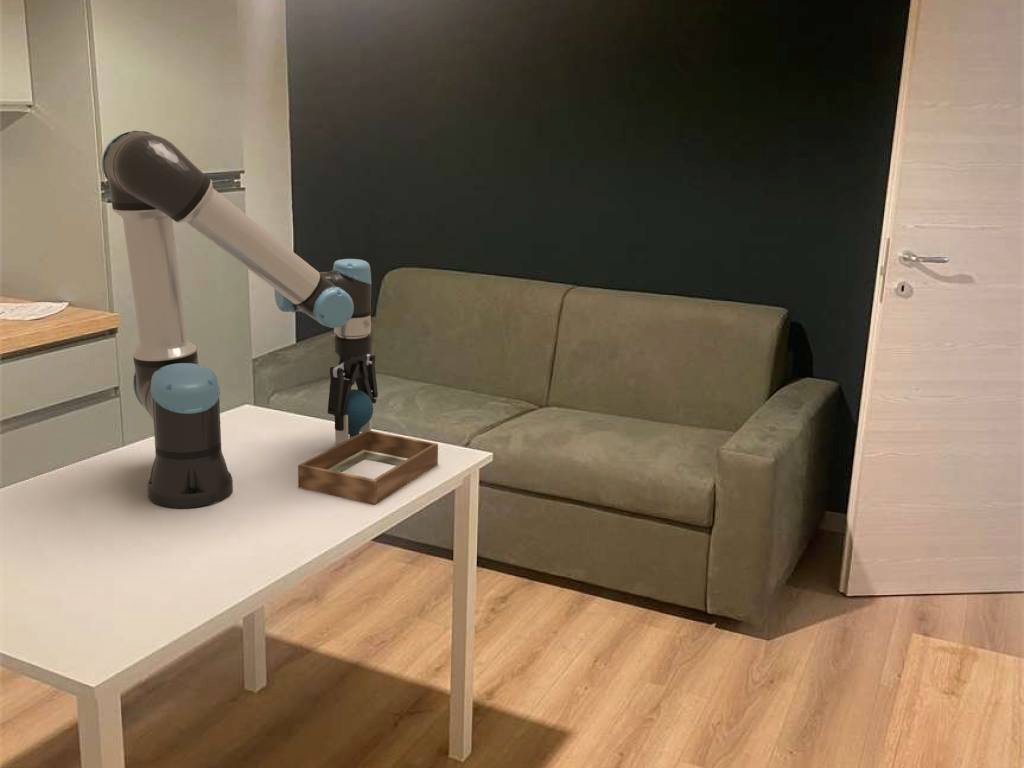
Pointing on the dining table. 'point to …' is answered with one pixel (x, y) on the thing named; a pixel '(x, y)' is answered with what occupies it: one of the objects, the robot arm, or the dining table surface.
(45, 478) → the dining table surface
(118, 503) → the dining table surface
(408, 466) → the wooden frame
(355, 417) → the teal bulb shape
